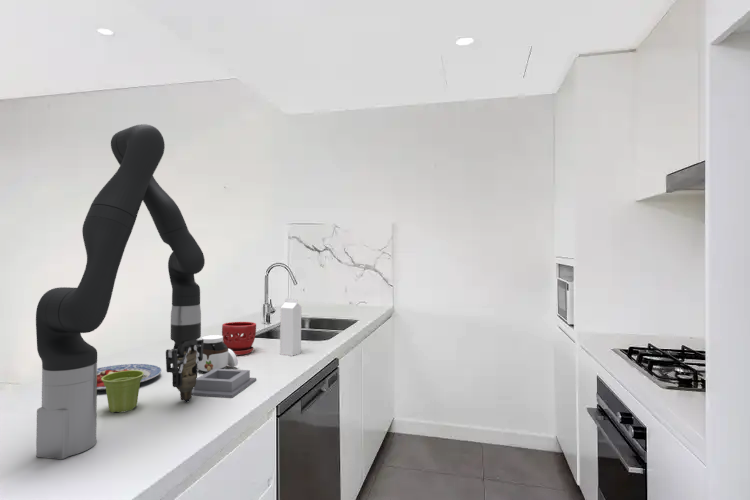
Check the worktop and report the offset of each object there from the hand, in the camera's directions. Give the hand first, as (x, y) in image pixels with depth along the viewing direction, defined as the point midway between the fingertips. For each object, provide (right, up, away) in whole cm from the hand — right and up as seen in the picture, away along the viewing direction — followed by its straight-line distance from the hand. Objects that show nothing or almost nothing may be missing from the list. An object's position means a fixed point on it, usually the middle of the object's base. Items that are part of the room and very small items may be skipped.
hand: (185, 382), depth 113 cm
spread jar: (-3, -6, +31) cm, 31 cm away
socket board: (+6, -5, +12) cm, 15 cm away
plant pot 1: (-14, -5, -5) cm, 16 cm away
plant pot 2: (-3, -6, +55) cm, 55 cm away
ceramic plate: (-30, -6, +17) cm, 35 cm away
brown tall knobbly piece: (0, -6, 0) cm, 6 cm away
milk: (+18, -6, +54) cm, 57 cm away
